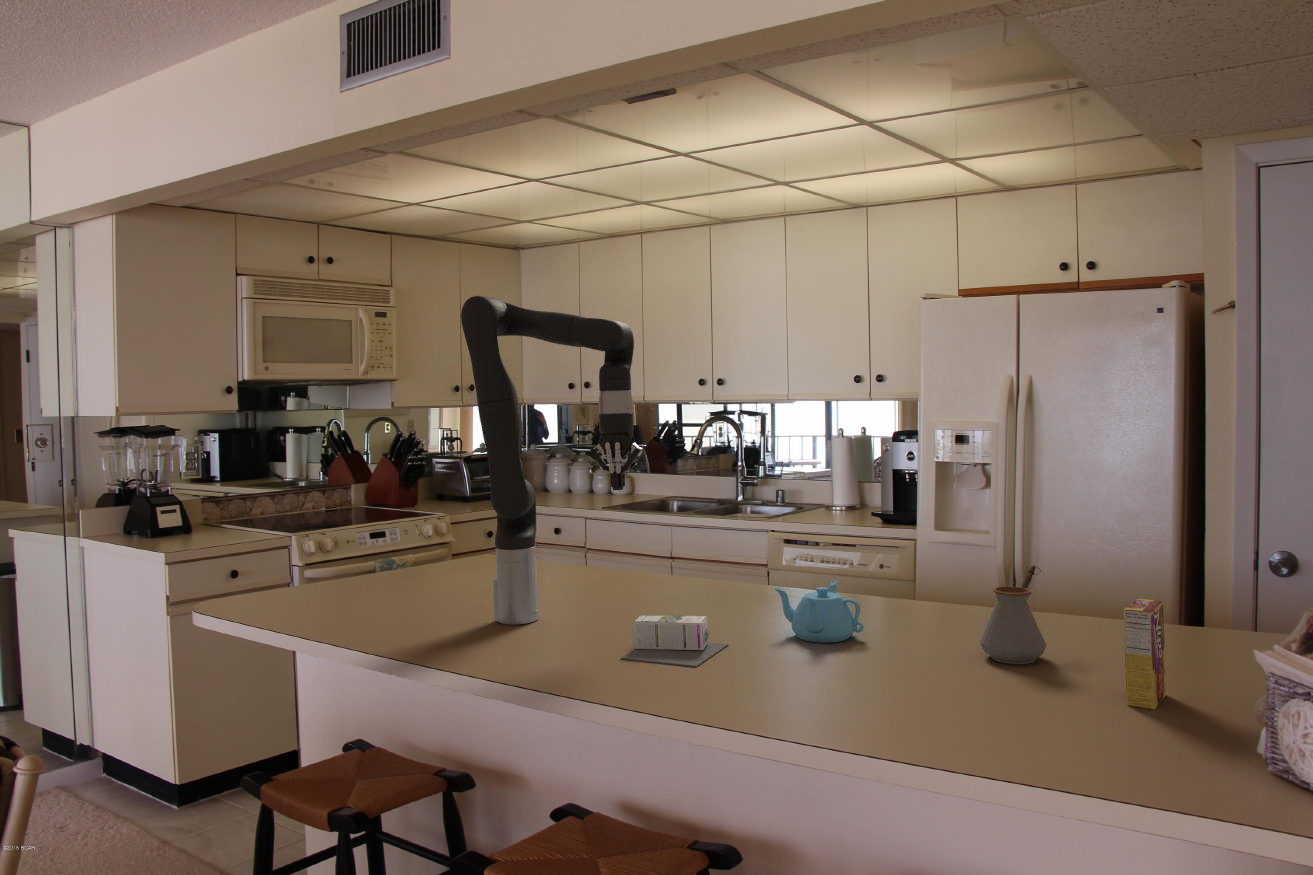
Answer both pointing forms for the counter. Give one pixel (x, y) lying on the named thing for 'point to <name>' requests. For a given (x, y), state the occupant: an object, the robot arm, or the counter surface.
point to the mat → (676, 655)
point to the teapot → (822, 615)
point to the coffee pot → (1013, 627)
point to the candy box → (1145, 653)
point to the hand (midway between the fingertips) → (618, 489)
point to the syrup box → (670, 632)
